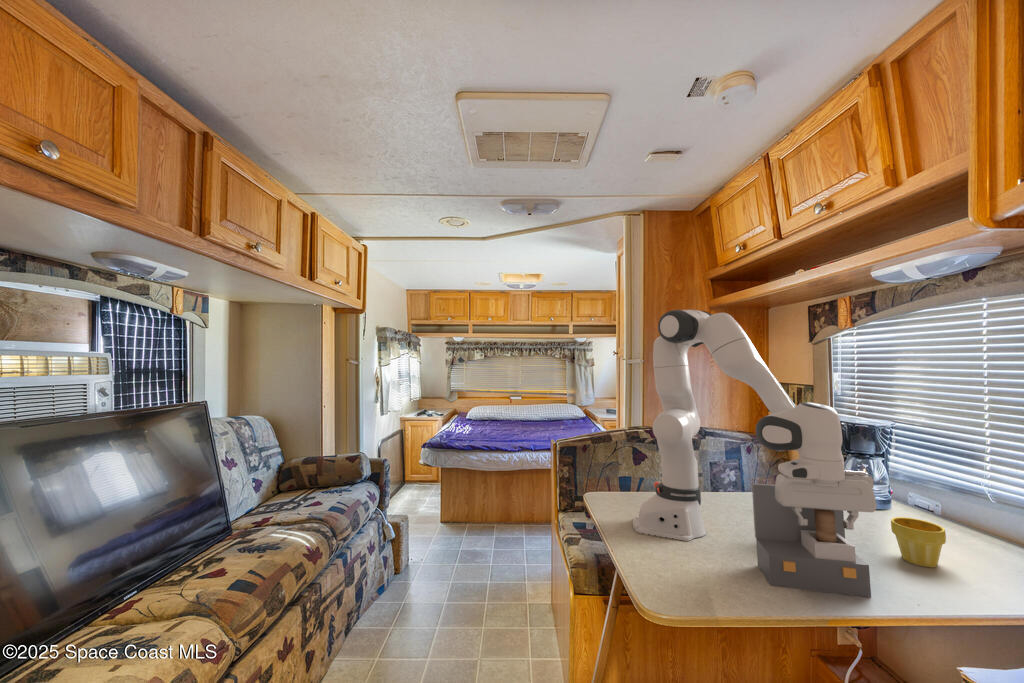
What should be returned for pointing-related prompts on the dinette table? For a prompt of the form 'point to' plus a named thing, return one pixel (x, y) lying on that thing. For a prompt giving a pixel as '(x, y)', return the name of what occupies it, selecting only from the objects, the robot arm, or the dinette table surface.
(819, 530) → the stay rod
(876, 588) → the dinette table surface
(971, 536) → the dinette table surface
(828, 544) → the case
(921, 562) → the plant pot
